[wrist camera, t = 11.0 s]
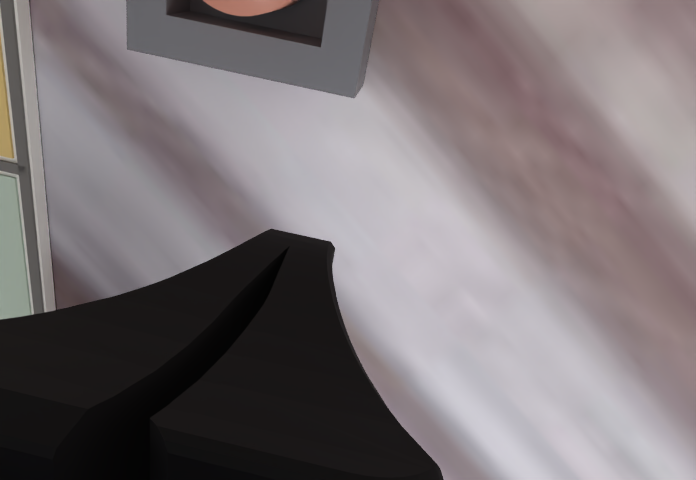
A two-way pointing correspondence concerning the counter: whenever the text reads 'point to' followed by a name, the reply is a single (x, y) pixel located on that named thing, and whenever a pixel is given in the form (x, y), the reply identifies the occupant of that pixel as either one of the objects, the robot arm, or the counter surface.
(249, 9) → the button
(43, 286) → the yellow and green board
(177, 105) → the counter surface
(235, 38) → the button housing
